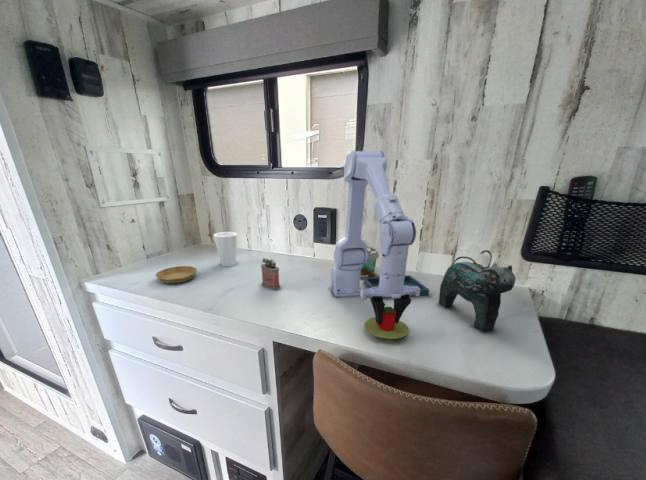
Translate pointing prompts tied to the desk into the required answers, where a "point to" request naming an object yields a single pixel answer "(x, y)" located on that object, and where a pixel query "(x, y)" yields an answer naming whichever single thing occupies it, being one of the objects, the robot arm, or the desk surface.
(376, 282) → the tray
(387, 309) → the strawberry
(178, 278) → the plant saucer
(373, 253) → the food container
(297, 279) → the desk surface
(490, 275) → the ceramic cat
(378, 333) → the green disc
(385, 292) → the robot arm
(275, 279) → the lighter
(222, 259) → the foam cup
